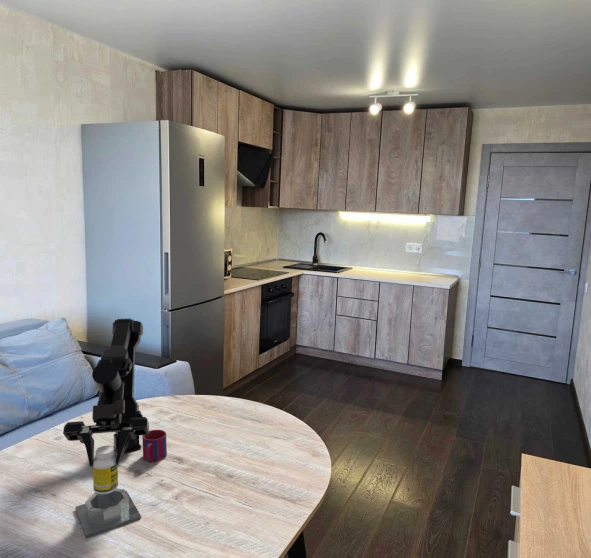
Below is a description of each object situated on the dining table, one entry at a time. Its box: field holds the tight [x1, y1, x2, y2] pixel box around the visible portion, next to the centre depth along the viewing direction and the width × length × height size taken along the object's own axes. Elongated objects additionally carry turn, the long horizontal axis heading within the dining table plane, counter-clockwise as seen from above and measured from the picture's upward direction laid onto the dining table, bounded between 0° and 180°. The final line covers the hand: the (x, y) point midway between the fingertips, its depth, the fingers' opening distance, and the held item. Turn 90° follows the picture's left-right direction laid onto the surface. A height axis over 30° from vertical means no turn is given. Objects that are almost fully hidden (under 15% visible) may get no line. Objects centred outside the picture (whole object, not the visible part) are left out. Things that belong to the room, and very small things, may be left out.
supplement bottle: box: [92, 445, 119, 494], centre depth 109 cm, size 5×5×10 cm
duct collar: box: [74, 488, 142, 539], centre depth 110 cm, size 12×12×4 cm
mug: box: [141, 429, 168, 463], centre depth 135 cm, size 7×10×7 cm
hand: (104, 465), depth 107 cm, fingers closed on supplement bottle, 5 cm apart
